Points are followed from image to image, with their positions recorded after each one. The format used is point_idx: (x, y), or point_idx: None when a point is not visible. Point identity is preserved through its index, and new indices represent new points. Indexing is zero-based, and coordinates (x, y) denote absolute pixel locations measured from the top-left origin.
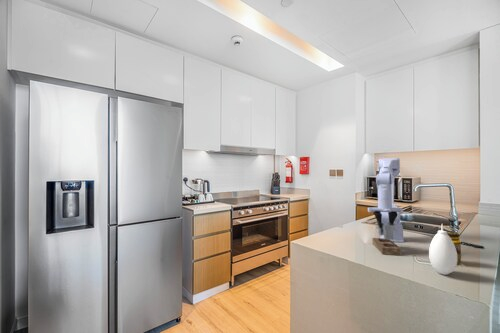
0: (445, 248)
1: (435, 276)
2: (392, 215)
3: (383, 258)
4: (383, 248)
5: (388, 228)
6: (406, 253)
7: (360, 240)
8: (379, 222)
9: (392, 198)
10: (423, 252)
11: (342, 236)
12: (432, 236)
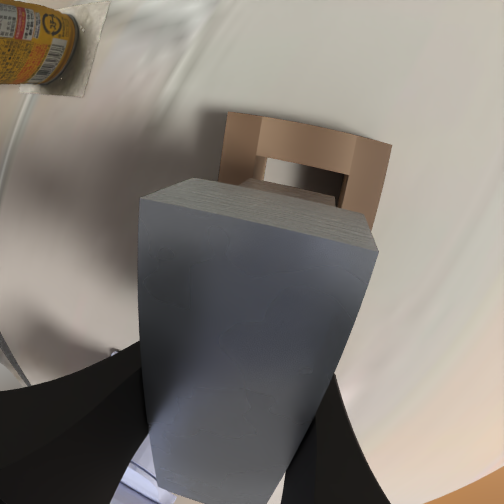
0: None
1: None
2: (17, 456)
3: (415, 68)
4: (382, 142)
5: (297, 205)
6: (182, 160)
7: (351, 420)
8: (352, 435)
9: None
10: (82, 183)
11: (402, 466)
12: (17, 367)
